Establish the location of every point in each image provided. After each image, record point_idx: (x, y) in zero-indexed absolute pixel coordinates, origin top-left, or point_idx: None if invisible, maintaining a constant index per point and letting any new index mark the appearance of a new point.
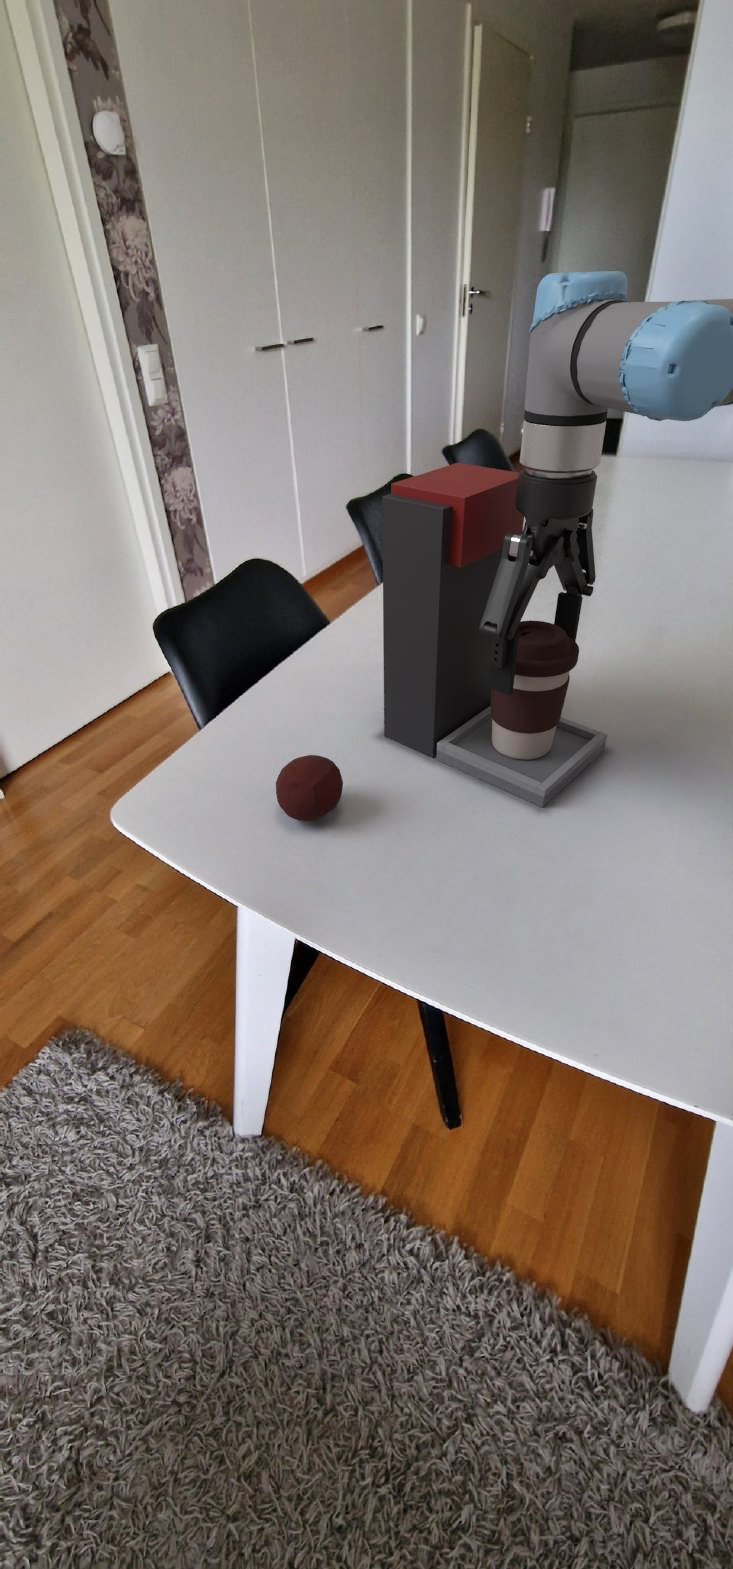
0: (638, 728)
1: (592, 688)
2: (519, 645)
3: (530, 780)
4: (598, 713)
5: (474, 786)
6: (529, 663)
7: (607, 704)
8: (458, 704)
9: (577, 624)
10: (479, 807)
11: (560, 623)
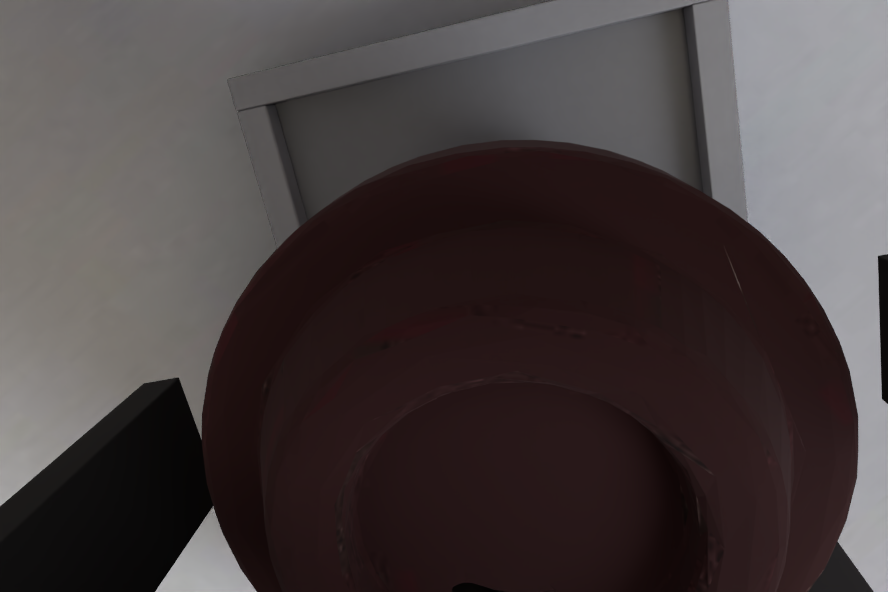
0: (44, 100)
1: (3, 370)
2: (787, 496)
3: (712, 45)
4: (96, 254)
5: (769, 215)
6: (799, 314)
7: (29, 272)
8: None
9: (47, 475)
10: (856, 118)
11: (127, 564)
